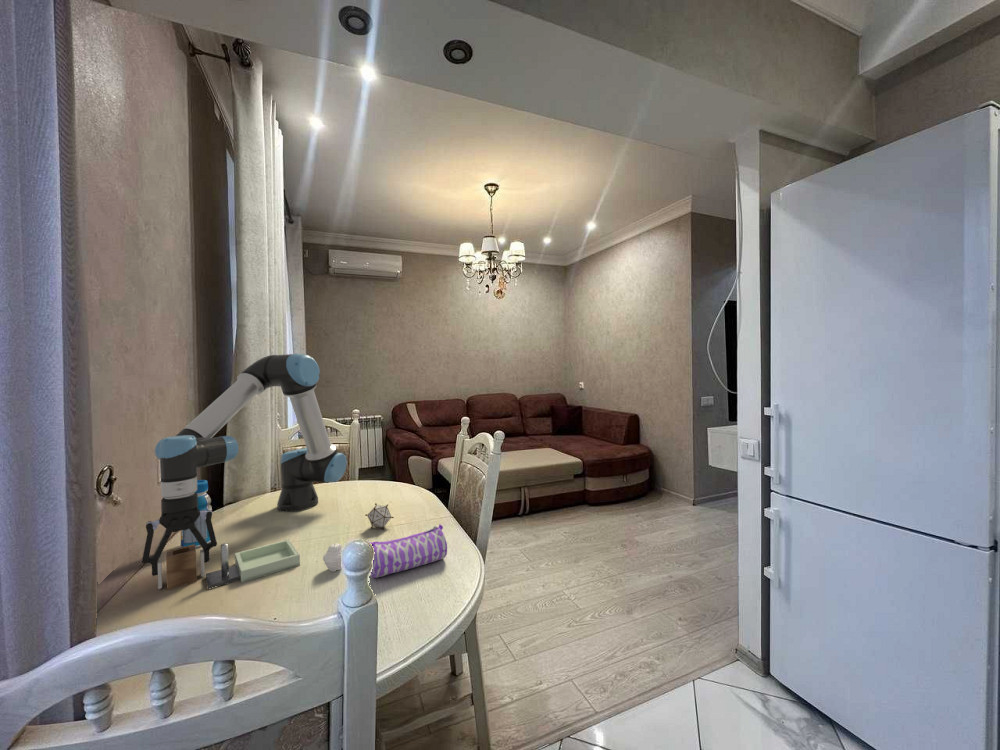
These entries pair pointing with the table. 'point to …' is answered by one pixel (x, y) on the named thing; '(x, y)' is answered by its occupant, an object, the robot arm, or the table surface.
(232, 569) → the pin
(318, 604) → the table surface
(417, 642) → the table surface
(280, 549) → the tray
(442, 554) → the pencil case
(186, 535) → the beverage bottle
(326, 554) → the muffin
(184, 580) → the bore block
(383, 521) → the game die
